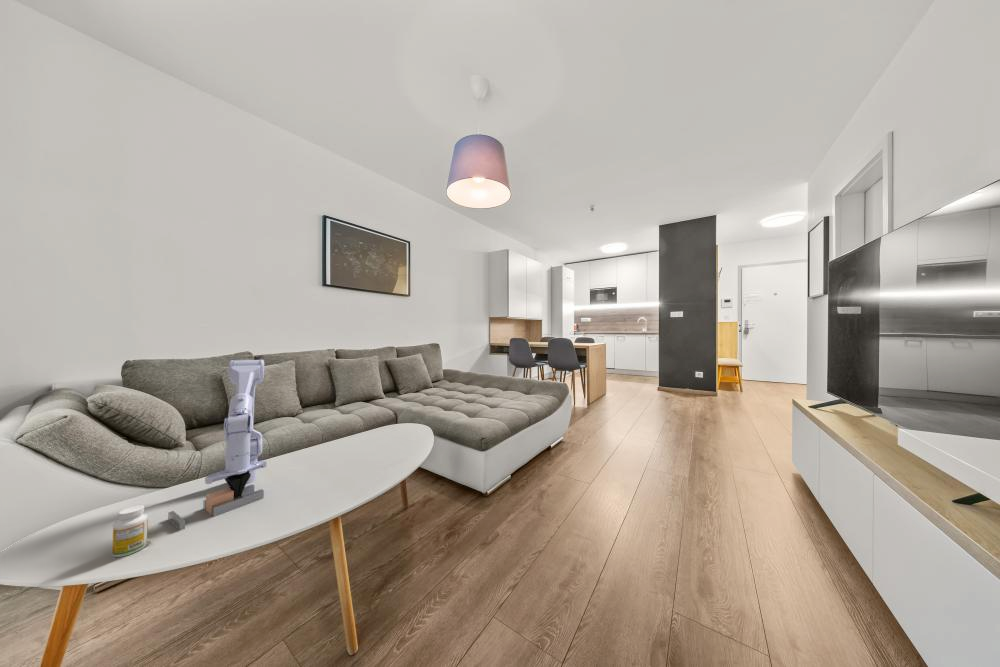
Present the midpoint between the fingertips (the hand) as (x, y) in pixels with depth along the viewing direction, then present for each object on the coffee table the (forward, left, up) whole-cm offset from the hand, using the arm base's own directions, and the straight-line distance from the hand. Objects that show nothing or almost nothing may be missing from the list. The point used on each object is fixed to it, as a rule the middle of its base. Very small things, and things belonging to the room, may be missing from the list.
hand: (237, 498), depth 94 cm
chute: (0, -3, -2) cm, 3 cm away
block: (0, -4, -1) cm, 4 cm away
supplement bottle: (+3, -22, -2) cm, 22 cm away
